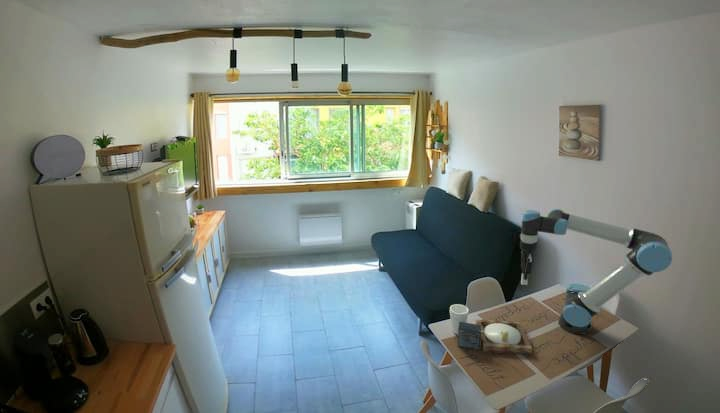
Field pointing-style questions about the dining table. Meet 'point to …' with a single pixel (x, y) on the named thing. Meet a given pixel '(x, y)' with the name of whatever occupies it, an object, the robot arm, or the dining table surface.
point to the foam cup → (458, 316)
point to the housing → (521, 348)
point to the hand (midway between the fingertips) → (524, 284)
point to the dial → (502, 334)
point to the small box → (469, 335)
